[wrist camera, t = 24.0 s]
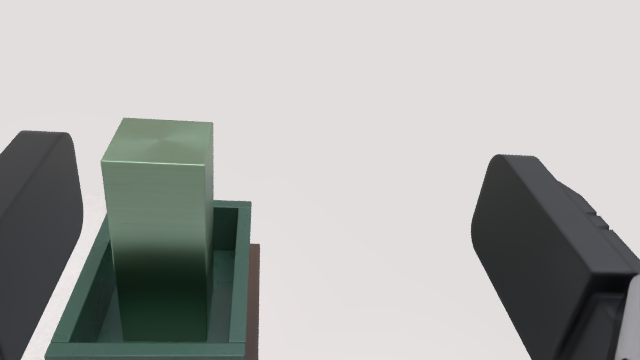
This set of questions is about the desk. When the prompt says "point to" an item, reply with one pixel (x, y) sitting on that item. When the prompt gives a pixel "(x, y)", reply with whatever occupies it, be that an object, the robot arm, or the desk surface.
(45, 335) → the desk surface
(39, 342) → the desk surface
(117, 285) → the pen tin
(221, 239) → the caddy
